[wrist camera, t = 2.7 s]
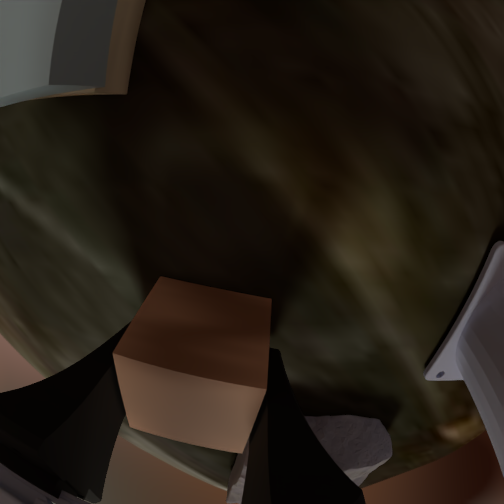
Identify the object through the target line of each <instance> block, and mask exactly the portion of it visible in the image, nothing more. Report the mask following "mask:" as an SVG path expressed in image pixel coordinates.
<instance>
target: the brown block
mask: <svg viewBox="0 0 504 504" xmlns="http://www.w3.org/2000/svg"><path fill="white" fill-rule="evenodd" d="M145 1H146V0H118V1H117V6H116V11H115V16H114V21H113V27H112V33H111V39H110V46H109V54H108V62H107V71H106V81H105V87H100V88H92V89H85V90H78V91H71V92H65V93H59V94H54V95H49V96H44V97H39V98H34V99H41V98H51V97H62V96H78V95H105V94H127V91H128V84H129V77H130V71H131V65H132V60H133V54H134V49H135V44H136V39H137V34H138V30H139V25H140V21H141V17H142V13H143V9H144V5H145ZM30 100H32V99H30Z"/></svg>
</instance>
